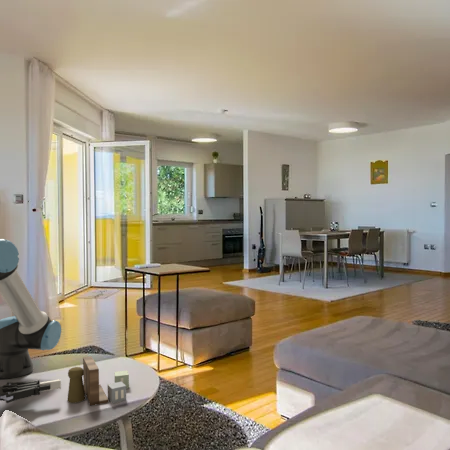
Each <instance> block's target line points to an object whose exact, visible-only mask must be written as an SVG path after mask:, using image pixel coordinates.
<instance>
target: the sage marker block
mask: <svg viewBox="0 0 450 450" xmlns="http://www.w3.org/2000/svg"><path fill="white" fill-rule="evenodd" d="M129 375H130V374H129V370H120V371H114V383H117V382H122V383H124V384H125V385H126V389H129V388H130V379H129V377H130V376H129Z"/></svg>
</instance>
